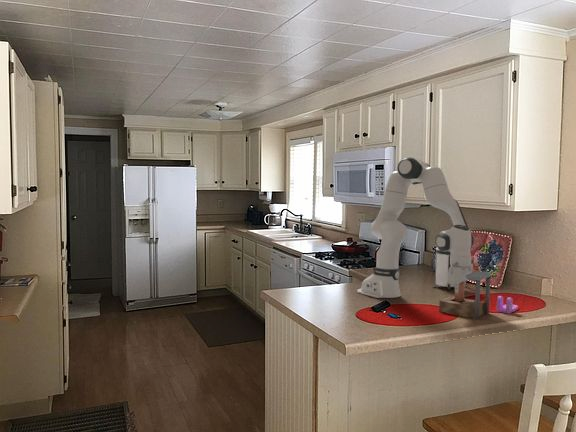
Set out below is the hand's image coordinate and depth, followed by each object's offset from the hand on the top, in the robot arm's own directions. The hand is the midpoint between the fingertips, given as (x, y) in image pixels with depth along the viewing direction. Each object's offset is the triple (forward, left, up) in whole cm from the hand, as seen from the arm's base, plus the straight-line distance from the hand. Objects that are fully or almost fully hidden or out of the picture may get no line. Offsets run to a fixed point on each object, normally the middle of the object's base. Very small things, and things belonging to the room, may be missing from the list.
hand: (459, 291), depth 228 cm
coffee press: (-25, +45, -9) cm, 52 cm away
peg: (0, 0, -4) cm, 4 cm away
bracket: (+16, +19, -10) cm, 26 cm away
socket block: (+2, -1, -9) cm, 9 cm away
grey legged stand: (+9, -1, -9) cm, 13 cm away
